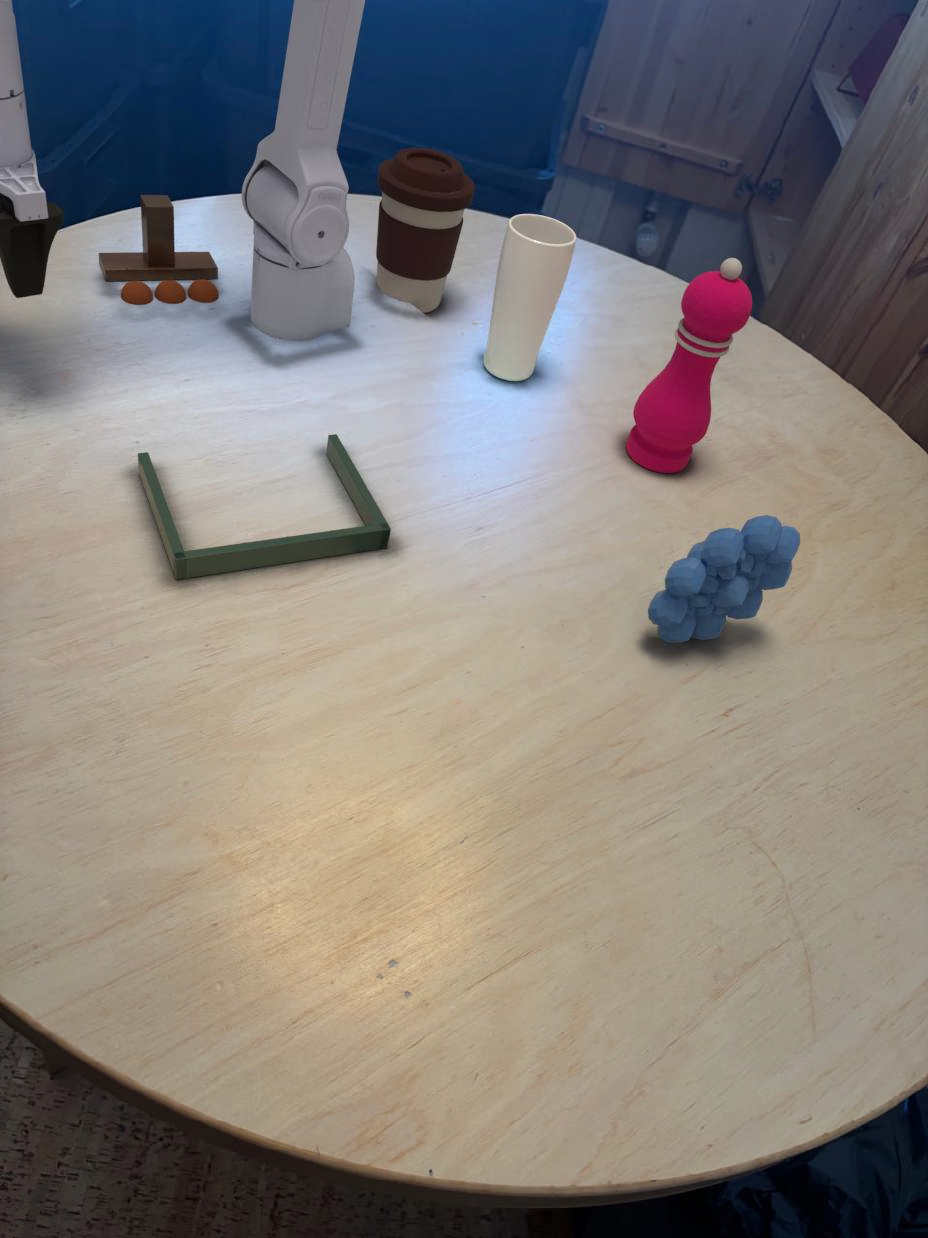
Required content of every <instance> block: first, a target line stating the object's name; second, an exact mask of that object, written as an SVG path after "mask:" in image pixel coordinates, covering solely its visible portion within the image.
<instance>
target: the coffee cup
mask: <svg viewBox="0 0 928 1238" xmlns="http://www.w3.org/2000/svg"><path fill="white" fill-rule="evenodd" d="M377 172H378V173H377V179H376V180H377V186H378V188H379V190H380V191H381V200H380V201H379V203H378V204H379V205H378V218H377V235H376V251H375V257H376V260H377V265H376V267H377V268H376V280H375V282H376V286H377V288H378V289H379V290H380V291H381V292H382V293H384V295H386V296H389V297H390V298H392V299H394V300H397V301H401V302H405V303H409V304H411V305H413V307H415V308H416V309H418V310H419V311H420V312H421V313H422V314H426V313H430V312H432V311H434V310H436V309H437V308H438V307H439V306H440V304H441V301H442V296H443V294H444V289H445V285H446V282H447V278H448V275H449V274H450V273H451V271H452V266H453V263H454V259H455V255H456V252H457V248H458V247H457V246H458V244H459V240H460V236H461V232H462V227H463V226H464V212H465V210H466V209H467V208H469V207H470V206H471V205H472V203H473V199H474V195H475V189H476V187H475V183H474V181H473V180H472V179H471V177H469V176H468V175H467V174H465V173H464V168H463V166H462V163H460V161H459V160H457V159H456V158H454V157H453V156H451V155H448V154H446V153H445V152H441V151H438V150H435V149H429V148H422V147H410V148H409V147H408V148H403V149H400V150H399V151H397V153H396V155H395V156H394V158H390V159H386V160H384V161H383V162H382V163H381V164H380V165H379V167H378V171H377Z"/></svg>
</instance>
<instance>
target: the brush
mask: <svg viewBox="0 0 928 1238" xmlns="http://www.w3.org/2000/svg"><path fill="white" fill-rule="evenodd" d="M139 196H140V217H141V241H142V251H139V252H138V251H137V252H134V251H133V252H132V251H131V252H127V251H126V252H98V254H97V255H98V264H99V267H100V269H101V271H102V275H103V277H104V279H105V281H106V282H123V281H125V282H126V281H128V282H130V281H165V280H174V281H177V280H199V279H205V280H215V279H216V280H217V279H219V268H218V265H217V263H216V262H215V260H214V258H213V256H212V255H211V253H210V251H176V249H175V207H174V204H173V202H172V201H171V198H170V197H169V195H168V194H163V195H162V194H140V195H139Z"/></svg>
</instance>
